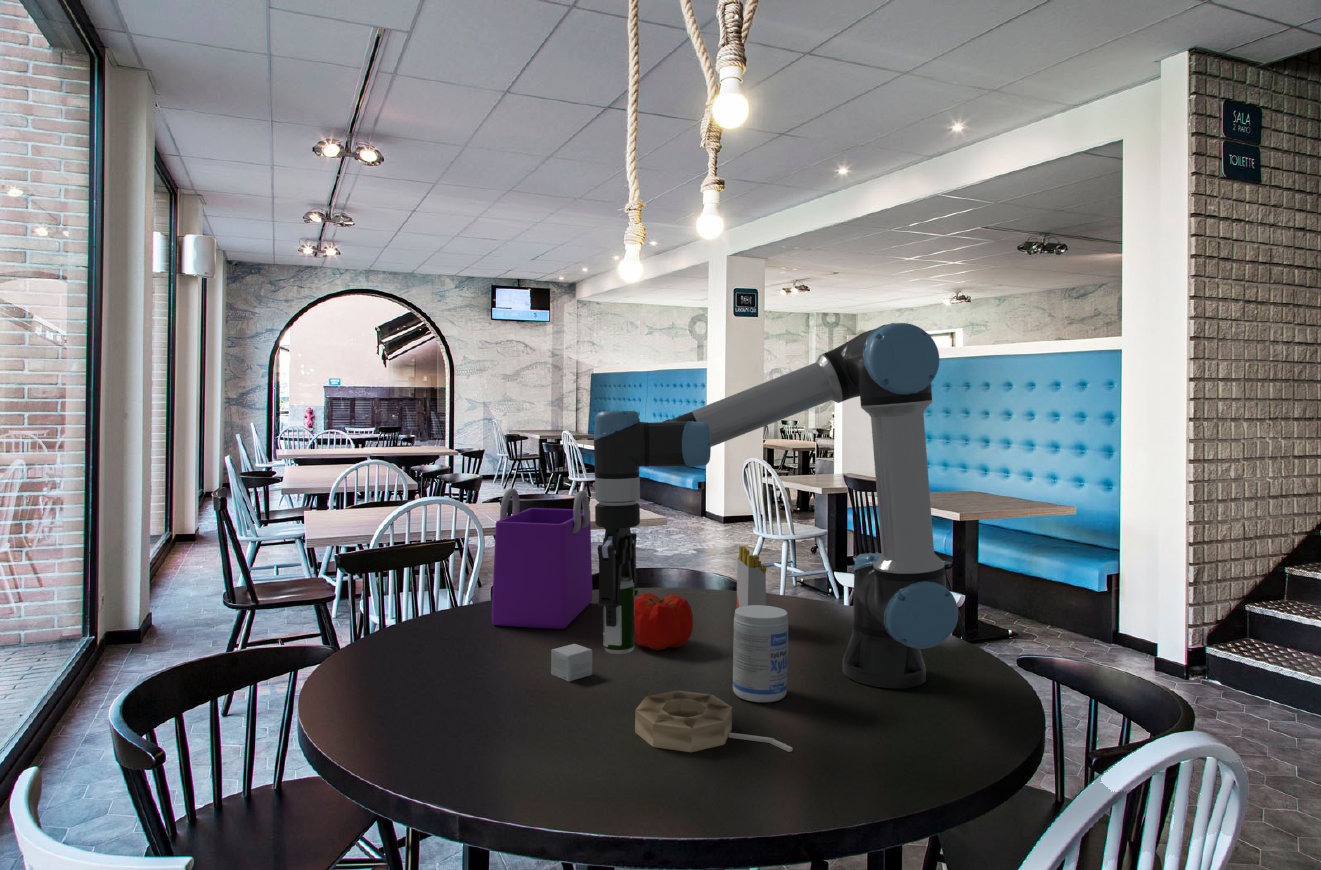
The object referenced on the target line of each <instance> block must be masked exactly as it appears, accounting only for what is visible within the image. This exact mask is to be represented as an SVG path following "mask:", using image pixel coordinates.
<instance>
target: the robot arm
mask: <svg viewBox="0 0 1321 870" xmlns="http://www.w3.org/2000/svg"><path fill="white" fill-rule="evenodd" d="M939 367H940V354H939V349H938V346H937V344H936V342H935V340H934V339H933V337H931V335H930V334H929V333H928V332H927V331H925V330H924V329H923V328H921V327H919V326H917V325H915V324H912V323H907V322H900V323H899V322H898V323H897V322H891V323H888V324H883V325H880V326H878V327H876V328H873V329H869V330H867V331H864V332H862V333H860V334H858V335H856V336H855V337H853V338H851V339H850V340H848V341H846V342H845V343H843V344H841V345H839V346H837V347H835V348H833V349H831V350H828V351H827V352H824V353H821V354H820V355H818V357H817V360H816V362H813V363H811V364H808V365H806V366H803V367H800V368H798V369H796V370H793V371H790V372H788V373H785V374H783V375H781V376H777V377H775V378H773V379H770V380H767V381H765V382H763V383H760V384H758V385H755V386H752V387H750V388H749V387H748V388H747V389H744V390H742V391H740V392H737V393H734V394H733V395H732V394H731V395H729V396H728V397H727V396H726V397H725V398H721V399H720V400H719V399H718V400H717V401H713V402H712V403H709V404H707V405H704V406H702V407H699V408H697V409H694V410H692V411H690V412H687V413H683V414H681V415H678V416H676V417H673V418H671V419H666V420H663V421H660V422H658V421H657V422H648V421H647V422H645V421H641V420H640V417H639V412H638V411H636V410H607V411H606V410H601V411H599V412H598V413H597V414H596V415H595V416H594V432H593V433H594V434H593V435H594V436H593V450H594V452H593V453H594V454H593V455H594V482H593V483H592V487H593V488H594V489H595V490H594V493H595V494H594V496H595V501H597V504H596V505H595V506H594V512H595V513H594V514H595V516H594V518H595V519H594V520H595V521H594V522H595V525H596V526H597V527H599V528H603V529H604V530H605V532H604V536H603V537H604V538H603V539H602V540H603V541H602V544H598V545H597V555H598V606H599V607H603V606H604V618H605V645H618V646H620V645H622V622H621V605H619V597H620V583H621V576H626V577H631V578H633V583H634V597H636V596H637V597H638V592H639V591H638V590H636V589H637V586H638V585H637V550H636V549H637V548H636V547H637V538H638V536H637V533H636V532H632V531H631V528H636V527H637V526H639V525H640V522H641V512H640V511H641V506H640V504H639V502H638V501H639V500H640V499H641V483H640V467H645V468H649V467H687V468H692V467H700V466H707V465H708V464H709V462H711V461H710V460H711V452H712V447H715V446H718V445H720V444H722V443H725V442H728V441H731V440H732V439H735V438H737V437H741V436H743V435H745V434H748V433H751V432H753V431H756V430H758V429H761V428H764V427H766V426H769V425H771V424H773V423H777V422H779V421H782V420H784V419H787V418H789V417H791V416H795V415H797V414H799V413H800V414H801V413H802V412H805V411H808V410H810V409H812V408H815V407H817V406H820V405H823V404H824V403H828V402H830V401H832V402H834V403H837V404H839V403H842V402H845V401H847V400H848V401H849V400H851V399H853V398H858V397H859V400H860V408H861V409H862V410H863V411H864V412H865V413H867V414H868V416H870V422H871V423H870V424H871V434H872V450H873V460H874V474H875V485H876V487H875V488H876V501H877V512H878V514H877V515H878V525H879V527H878V528H879V538H880V550H881V553H877V552H876V553H875V552H874V553H861V554H858V555H857V556H856V557H855V559H854V568H853V570H852V572H853V606H852V607H853V610H852V611H853V613H852V620H853V621H852V633H851V636H850V639H849V641H848V644H847V646H846V649H845V652H844V655H843V656H842V657H843V658H842V674H843V675H844V676H846V677H847V678H849V679H850V680H852V681H854V682H857V683H860V684H863V685H866V686H871V687H878V688H883V689H909V688H916V687H918V686H921V685H923V684H924V683H925V682H926V676H927V674H926V672H927V671H926V670H927V669H926V664H925V660H924V657H923V655H922V650H923V649H924V650H926V649H931V648H933V647H936V646H938V645H940V644H941V643H943V642H945V641H946V639H947V638H949V636H950V635H952V633H953V632H954V630H955V628H956V626H957V624H958V620H959V606H958V603H957V600H956V599H955V596H954V594H953V593H952V592H951V591H950V590H949V588H947V577H946V568H945V567H946V564H945V562H944V561H943V560H942V558H940V557H939V556H938V555H937V554H936V553H935V547H934V533H933V520H932V519H933V518H932V505H931V495H930V493H931V491H930V481H929V469H928V468H929V467H928V466H929V465H928V453H927V439H926V429H925V425H926V424H925V417H924V416H925V415H924V414H925V411H926V410H927V409H928V407H930V406H931V404H932V403H933V393H932V392H933V390H932V382H933V381H934V379H935V378H936V376H937V374H938V371H939Z"/></svg>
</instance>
